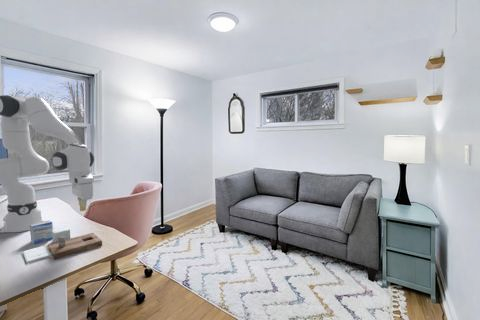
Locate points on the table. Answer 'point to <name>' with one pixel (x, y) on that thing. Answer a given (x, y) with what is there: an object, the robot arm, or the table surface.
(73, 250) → the board
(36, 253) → the external hard drive
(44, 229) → the medicine box
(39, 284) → the table surface
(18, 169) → the robot arm
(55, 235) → the light grey cube
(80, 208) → the peg
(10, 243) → the table surface
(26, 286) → the table surface
